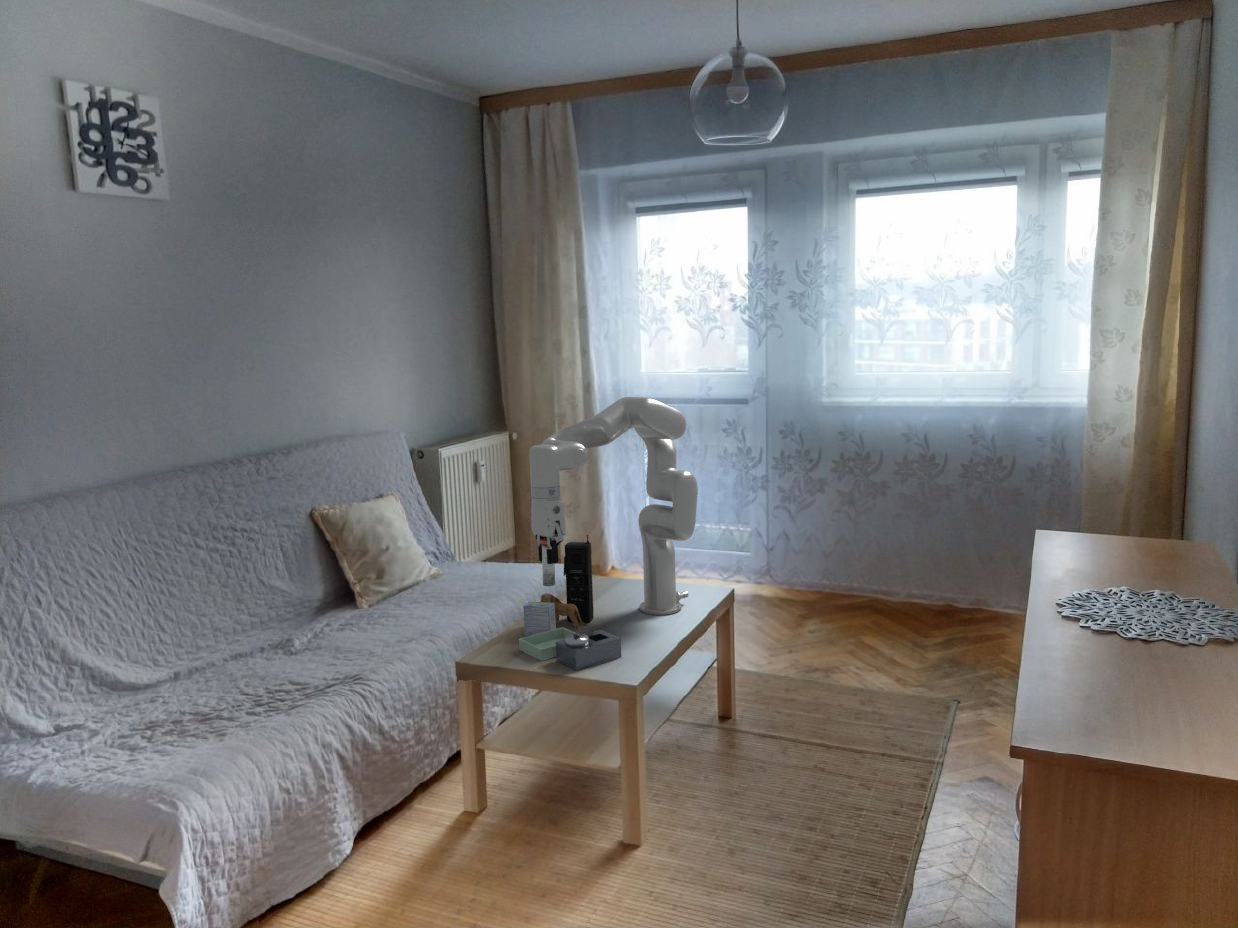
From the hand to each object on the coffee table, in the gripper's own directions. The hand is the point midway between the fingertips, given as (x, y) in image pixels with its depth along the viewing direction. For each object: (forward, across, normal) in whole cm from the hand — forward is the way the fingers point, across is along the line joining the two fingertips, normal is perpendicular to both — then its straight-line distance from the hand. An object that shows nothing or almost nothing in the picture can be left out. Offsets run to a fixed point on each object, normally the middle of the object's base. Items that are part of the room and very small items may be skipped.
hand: (548, 561), depth 238 cm
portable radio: (+24, +16, -19) cm, 34 cm away
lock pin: (+6, 0, 0) cm, 6 cm away
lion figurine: (+24, +15, -13) cm, 31 cm away
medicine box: (+24, +12, -4) cm, 27 cm away
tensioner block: (+24, -12, -3) cm, 27 cm away
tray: (+24, 0, 0) cm, 24 cm away
